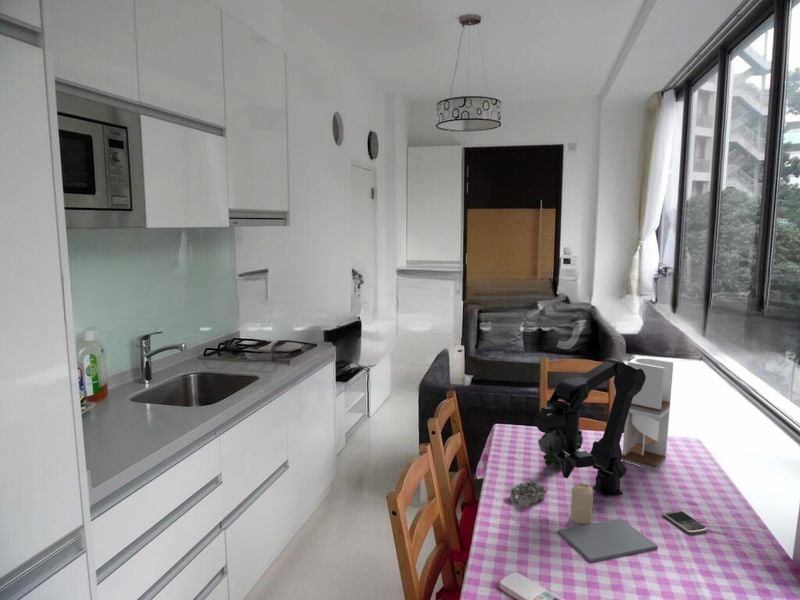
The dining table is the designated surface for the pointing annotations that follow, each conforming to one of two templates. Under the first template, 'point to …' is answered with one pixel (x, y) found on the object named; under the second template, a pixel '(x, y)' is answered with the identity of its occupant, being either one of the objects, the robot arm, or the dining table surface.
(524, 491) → the grey jagged ring-shaped piece
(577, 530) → the rubber mat
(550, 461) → the toy figurine
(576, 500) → the candle
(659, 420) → the display case
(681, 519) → the cell phone
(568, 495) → the dining table surface
